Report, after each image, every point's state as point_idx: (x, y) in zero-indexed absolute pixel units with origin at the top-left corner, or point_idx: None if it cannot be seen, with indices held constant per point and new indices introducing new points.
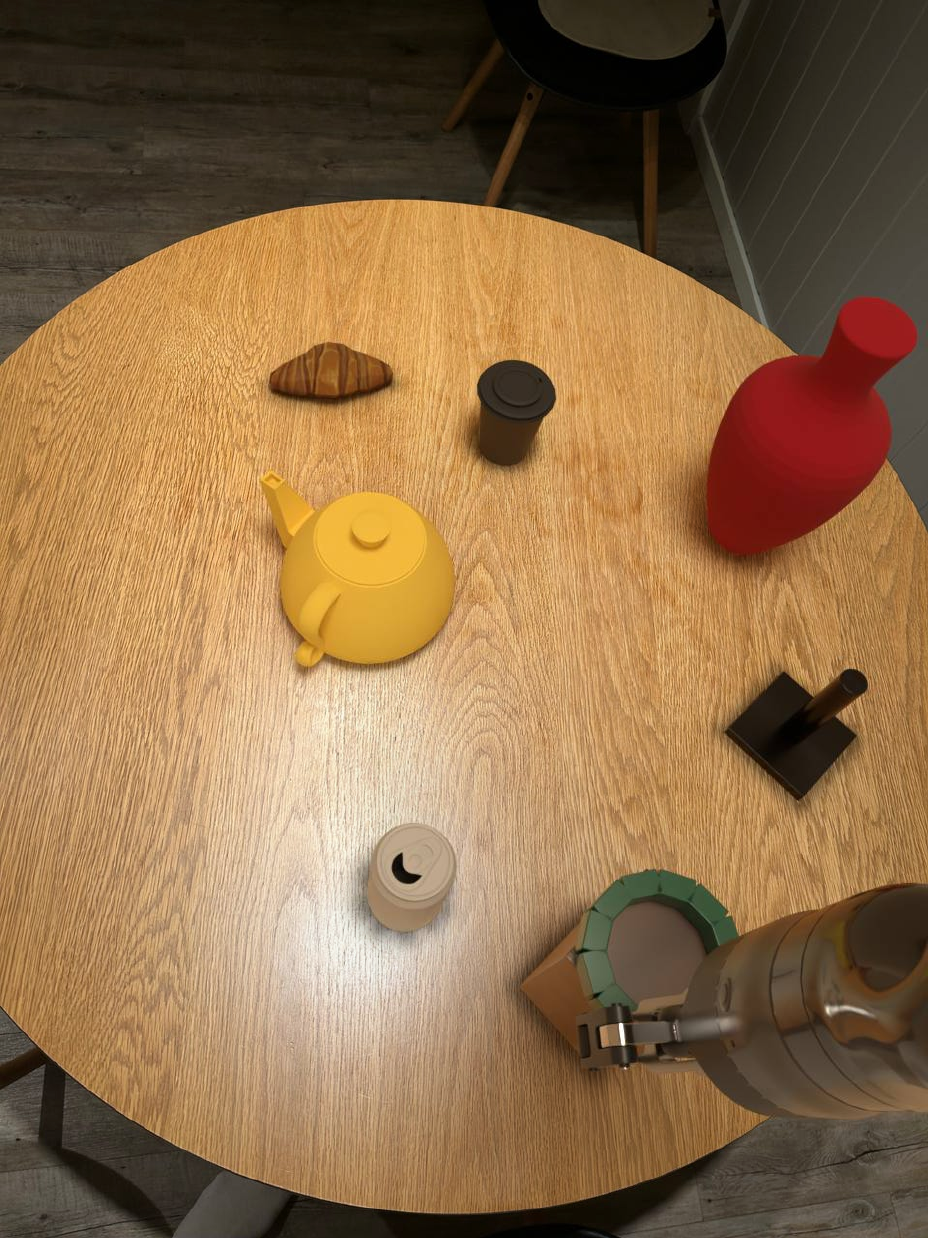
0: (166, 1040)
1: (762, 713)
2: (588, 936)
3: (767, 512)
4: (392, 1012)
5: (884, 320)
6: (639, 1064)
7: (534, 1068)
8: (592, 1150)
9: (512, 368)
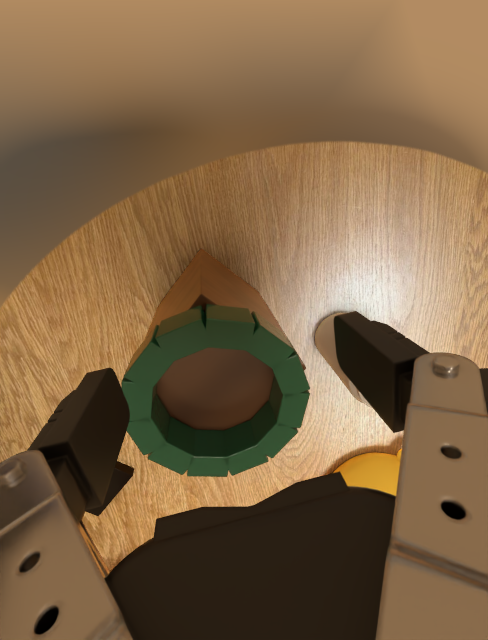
0: (478, 223)
1: (109, 489)
2: (302, 404)
3: None
4: (341, 262)
5: None
6: (485, 412)
7: (243, 242)
8: (195, 192)
9: None
